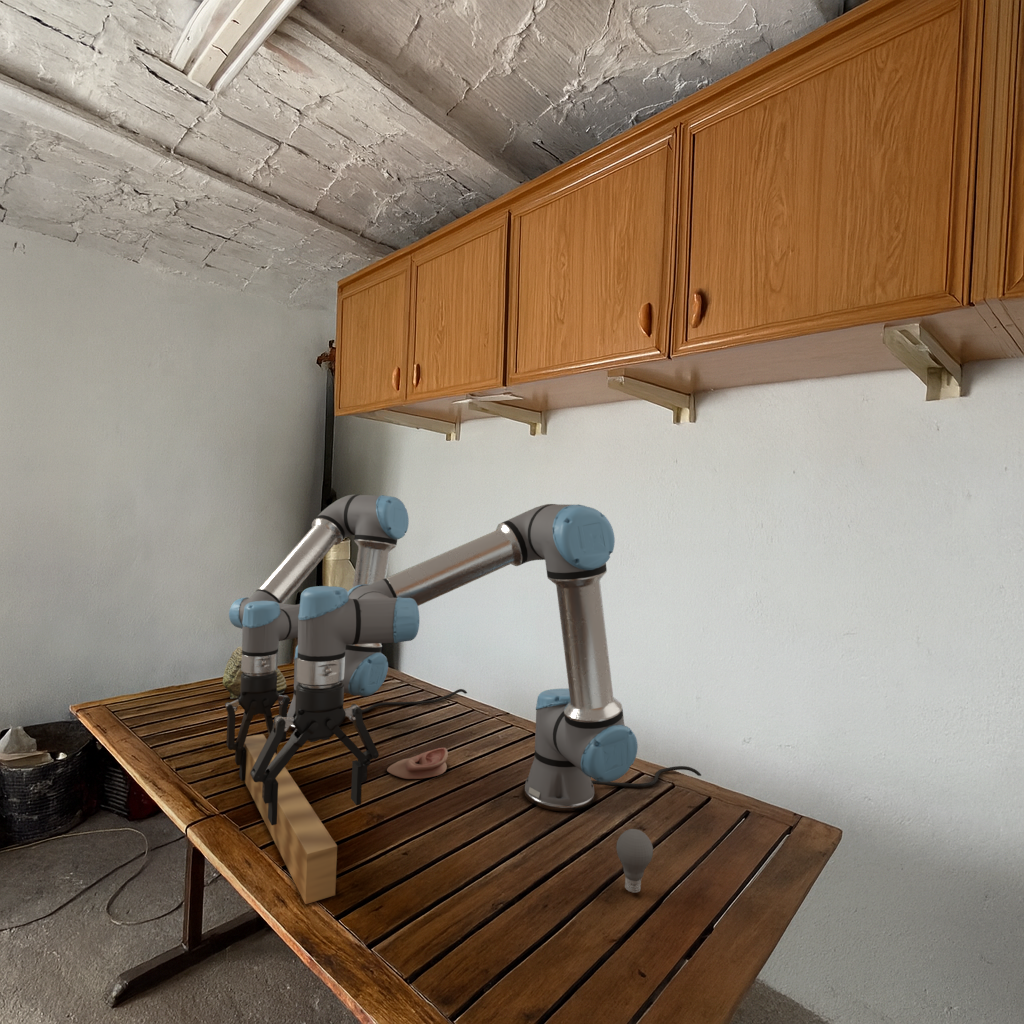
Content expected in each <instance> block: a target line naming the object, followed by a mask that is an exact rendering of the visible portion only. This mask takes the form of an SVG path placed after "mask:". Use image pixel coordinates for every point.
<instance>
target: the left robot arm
mask: <svg viewBox="0 0 1024 1024" xmlns="http://www.w3.org/2000/svg"><path fill="white" fill-rule="evenodd" d="M409 518H410V517H409V512H408V510H407V507H406V505H405V504H404V502H403V501H402V500H401V499H400V498H398V497H395V496H391V495H384V494H381V495H379V494H378V495H377V494H376V495H375V494H348V495H345V496H342V497H341V498H339V499H337V500H335V501H334V502H332V503H331V504H329V505H328V506H327V507H325V508H324V509H323V510H322V511H320V513H319V514H318V515H317V516H316V517H315V518H314V519H313V521H312V522H311V528H310V529H309V530H308V532H306V534H305V535H304V536H303V537H302V538H301V539H300V540H299V542H297V543H296V545H295V546H294V547H293V548H292V550H290V551H289V553H288V554H287V555H286V556H285V558H283V559H282V560H281V562H280V563H279V564H278V565H277V566H276V567H275V569H273V571H272V572H271V573H270V574H269V575H268V576H267V577H266V579H264V581H263V582H262V583H261V584H260V585H259V586H258V588H257V589H256V590H255V591H254V592H253V593H252V594H251V596H250V597H247V596H246V597H240V598H238V599H236V600H234V601H233V603H232V604H231V605H230V608H229V611H228V619H229V621H230V623H231V625H233V626H234V627H236V628H238V629H240V630H241V629H242V636H241V644H242V645H241V647H242V662H241V671H242V672H243V673H242V674H241V687H240V695H239V696H238V698H236V699H235V700H233V701H231V702H230V701H227V702H225V703H224V707H225V710H226V713H227V717H226V718H227V719H226V746H227V749H228V750H230V751H234V762H235V764H236V766H239V779H240V781H241V782H243V781H244V782H245V775H246V749H245V747H244V743H245V740H246V737H247V736H248V733H249V730H250V725H251V722H252V721H253V717H254V716H256V715H263V717H264V721H265V725H266V730H267V734H268V736H269V735H270V733H271V731H272V729H273V723H274V719H273V714H272V707H274V705H275V704H276V702H277V704H278V715H281V716H282V717H293V715H294V713H295V703H296V686H297V685H298V683H299V682H298V681H297V680H296V676H297V657H298V644H297V645H296V647H295V652H294V653H295V654H294V657H293V659H294V660H293V662H294V663H293V665H294V666H293V695H292V696H293V697H292V699H291V698H290V697H289V696H288V695H287V694H278V692H277V672H276V671H275V670H277V668H278V663H279V662H278V661H279V642H283V641H288V640H290V639H295V638H298V615H299V609H300V603H297V604H290V603H287V601H289V599H291V597H292V596H293V595H294V593H295V592H296V591H297V590H298V588H299V587H300V586H301V585H302V584H303V582H305V580H306V579H307V578H308V577H309V576H310V574H311V573H312V572H313V571H314V569H316V567H317V566H318V565H319V563H320V562H321V561H322V560H323V559H324V558H325V556H327V554H328V553H329V552H330V550H331V549H332V548H333V547H334V546H337V545H340V544H341V543H342V542H343V540H344V539H346V538H347V537H351V536H354V538H353V541H354V543H355V544H356V546H357V547H358V548H357V549H358V550H357V555H356V563H355V569H354V574H353V575H354V576H353V577H354V578H353V581H352V582H353V583H352V588H353V587H355V586H357V585H365V584H366V585H370V584H372V583H375V582H377V581H380V580H382V579H385V578H387V577H388V576H387V575H388V569H389V562H390V556H391V555H390V554H391V552H392V551H393V550H394V549H395V548H397V544H398V540H400V539H402V538H403V537H404V536H406V533H407V531H409V530H408V529H409V521H410V520H409ZM382 648H383V645H382V643H373V644H355V645H346V649H345V670H344V679H343V680H342V682H343V684H344V694H349V695H352V696H353V697H354V696H355V697H356V696H359V697H360V696H361V697H370V696H372V695H374V694H375V693H376V692H377V691H379V690H380V688H381V687H382V686H383V684H384V682H385V681H386V679H387V678H386V677H387V676H388V671H389V662H388V658H387V656H385V654H383V653H382ZM458 693H463V694H465V695H466V694H468V692H467V690H465V689H463V688H458V689H457V690H455V691H453V692H451V693H448V694H446V695H444V696H443V695H442V696H440V697H438V698H434V699H427V700H417V701H416V700H415V701H384V702H378V703H374V704H372V705H370V706H368V707H366V708H364V709H362V714H364V713H367V712H369V711H371V710H373V709H375V708H377V707H382V706H408V705H409V706H411V705H412V706H413V705H427V704H434V703H437V702H440V701H443V700H446V699H449V698H451V697H453V696H455V695H457V694H458ZM239 706H240V707H241V708H242V709H243V710H244V711H243V714H242V715H243V716H242V719H241V723H240V727H239V729H238V734H237V736H235V735H236V712H237V711H238V707H239ZM288 707H289V708H288ZM288 730H291V731H295V730H296V728H295V726H294V725H291V726H290V727H289V728H288ZM235 739H236V740H235ZM286 740H287V731H286V732H284V735H283V738H282V740H281V742H285V741H286ZM275 753H276V754H278V748H277V749H276V751H275Z"/></svg>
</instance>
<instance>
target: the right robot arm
mask: <svg viewBox="0 0 1024 1024" xmlns="http://www.w3.org/2000/svg"><path fill="white" fill-rule="evenodd" d="M614 532H615V531H614V529H613V526H612V524H611V522H610V520H609V519H608V518H607V516H606V515H604V514H603V513H602V512H601V511H600V510H598V509H596V508H594V507H590V506H586V505H583V504H580V503H579V504H557V503H546V504H542V505H539V506H536V507H533V508H531V509H528V510H527V511H525V512H522V513H520V514H518V515H516V516H514V517H512V518H509V519H507V520H505V521H504V520H503V522H500V523H498V525H497V526H496V529H495V530H493V531H492V532H489V533H486V534H484V535H482V536H480V537H478V538H475V539H473V540H470V541H468V542H466V543H464V544H462V545H459V546H457V547H454V548H452V549H450V550H448V551H445V552H443V553H440V554H438V555H436V556H433V557H431V558H428V559H426V560H424V561H422V562H420V563H417V564H415V565H412V566H410V567H408V568H406V569H403V570H401V571H398V572H396V573H393V574H391V575H389V576H386V578H385V579H382V580H380V581H377V582H375V583H372V584H370V585H366V584H365V585H357V586H355V587H353V586H352V588H350V589H348V590H347V589H346V588H345V587H342V586H334V585H331V586H329V585H319V586H318V585H316V586H310V587H307V588H305V589H304V590H303V591H302V592H301V594H300V598H299V599H300V600H299V604H300V609H299V615H298V637H297V645H298V657H297V676H296V680H297V681H298V682H299V683H298V685H297V686H296V703H295V713H294V715H293V717H282V716H281V715H279V714H276V715H275V716H274V719H273V729H272V731H271V733H270V735H269V734H268V737H267V738H266V739H267V741H266V743H265V745H264V747H263V749H262V751H261V752H260V754H259V756H258V758H257V760H256V762H255V764H254V766H253V768H252V770H251V772H250V775H251V777H252V779H253V780H254V782H263V783H262V798H263V800H264V802H265V804H266V803H268V819H269V821H270V823H271V825H276V824H277V804H278V782H277V780H276V777H277V776H278V774H279V773H280V772H281V771H282V769H283V768H284V767H285V768H286V766H287V764H288V763H289V762H290V761H291V759H292V758H293V757H294V755H295V754H296V753H297V752H298V751H299V749H300V748H302V747H303V746H304V745H305V744H306V743H307V742H310V743H315V742H317V741H320V740H324V741H326V740H330V738H332V737H333V736H334V735H335V737H336V738H337V739H338V740H339V741H340V742H341V743H342V744H343V745H344V746H345V747H346V748H347V749H348V750H349V752H351V753H352V755H353V756H354V757H355V758H356V759H357V760H352V763H351V764H352V766H351V788H350V790H351V792H350V799H351V801H352V802H353V804H355V806H360V805H362V786H363V785H362V783H366V782H367V779H368V766H370V765H371V761H372V760H376V759H379V756H380V753H379V751H378V749H377V747H376V745H375V742H374V741H373V738H372V736H371V733H370V732H369V730H368V728H367V726H366V724H365V721H364V718H363V717H364V716H363V713H362V710H363V709H362V708H361V707H360V706H358V704H356V703H352V704H351V705H350V707H346V708H344V701H345V700H344V696H345V693H344V684H343V682H342V680H343V679H344V670H345V649H346V645H355V644H373V643H381V644H389V643H390V644H391V643H392V644H398V643H404V642H410V641H413V640H414V639H416V638H417V635H418V633H419V630H420V610H419V606H421V605H423V604H426V603H428V602H430V601H433V600H435V599H437V598H439V597H442V596H444V595H446V594H448V593H450V592H453V591H454V590H456V589H459V588H461V587H463V586H465V585H468V584H470V583H472V582H474V581H476V580H479V579H481V578H483V577H485V576H487V575H490V574H492V573H494V572H496V571H499V570H500V569H503V568H506V567H507V566H509V565H512V566H514V567H519V566H521V565H523V564H526V563H528V562H533V561H544V563H545V570H546V577H547V579H548V580H549V581H550V582H552V583H553V584H554V585H555V587H556V594H557V605H558V613H559V620H560V628H561V637H562V645H563V653H564V660H565V668H566V669H565V670H566V674H567V675H566V677H567V685H568V688H552V689H546V690H543V691H541V692H540V693H539V694H538V696H537V700H536V704H535V705H536V706H535V712H536V713H535V731H534V733H535V735H534V757H533V761H532V764H531V766H530V769H529V773H528V776H527V777H526V779H525V783H524V796H525V798H526V799H527V800H528V802H530V803H531V804H533V805H534V806H537V807H538V808H542V809H545V810H549V811H555V812H577V811H580V810H583V809H586V808H588V807H589V806H591V805H592V804H593V803H594V800H595V786H594V785H599V786H608V787H609V786H610V787H620V788H621V787H622V788H649V787H651V786H654V785H655V784H656V783H657V782H658V780H659V776H660V775H661V774H663V773H667V772H668V773H669V772H672V771H689V772H691V773H694V774H695V775H696V776H699V777H701V776H702V774H701V773H700V771H698V770H697V769H695V768H693V767H692V766H691V767H690V766H687V765H676V766H669V767H665V768H661V769H658V770H657V771H656V772H655V774H654V778H653V779H652V780H651V781H648V782H643V783H642V782H641V783H629V782H615V781H618V780H619V779H620V778H622V777H623V776H625V775H626V774H627V773H628V771H629V770H630V767H631V766H632V765H634V762H635V760H636V757H637V754H638V749H639V748H638V747H639V746H638V745H639V744H638V740H637V736H636V734H635V733H634V732H633V731H632V729H631V728H630V727H629V726H627V725H625V718H624V711H623V705H622V703H621V701H620V700H619V699H618V698H616V697H615V696H614V691H613V681H612V673H611V672H612V671H611V664H610V656H609V655H610V654H609V647H608V646H609V645H608V639H607V638H608V637H607V632H606V631H607V630H606V621H605V620H606V619H605V613H604V604H603V595H602V587H601V580H602V579H603V577H604V576H605V575H606V573H607V571H608V569H607V563H608V561H609V560H610V558H611V556H610V555H611V554H613V553H614V548H615V541H616V539H615V533H614ZM346 717H347V719H348V720H350V721H351V722H352V724H353V726H354V728H355V729H356V732H357V735H358V736H359V738H360V740H361V742H362V745H363V746H364V748H365V751H362V750H361V749H360V748H359V746H357V745H356V743H355V742H353V740H351V739H350V737H349V736H348V735H347V734H346V733H345V732H344V731H343V729H341V727H340V726H341V725H342V723H343V722H344V720H345V719H346ZM291 725H294V726H295V728H296V730H293V732H292V733H291V734H290V737H289V739H288V740H287V742H286V743H285V744H284V746H283V747H282V748H281V749H280V750H279V752H277V756H276V757H275V758H274V759H273V761H272V762H271V763H270V761H271V759H272V757H273V755H274V753H275V751H276V749H277V750H278V747H279V746H280V744H281V742H282V741H281V740H282V738H283V735H284V732H286V733H287V731H288V730H289V727H290V726H291ZM269 763H270V764H269ZM268 765H269V766H268Z"/></svg>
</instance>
